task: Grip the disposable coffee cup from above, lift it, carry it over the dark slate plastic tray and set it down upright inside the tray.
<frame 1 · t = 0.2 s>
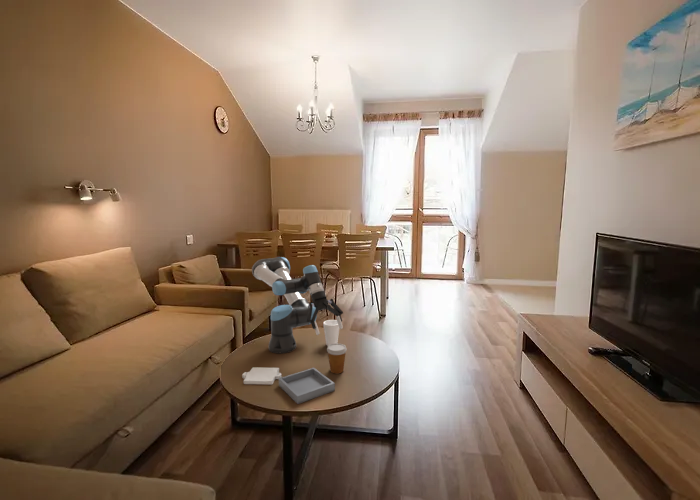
hand: (330, 331, 184), 16 cm above the table, tool tilted 35°, fingers open, 13 cm apart
slate tray: (306, 388, 159), on the table
mounting plate: (262, 378, 169), on the table
foam cup: (331, 344, 207), on the table
disposable coffee cup: (336, 370, 176), on the table
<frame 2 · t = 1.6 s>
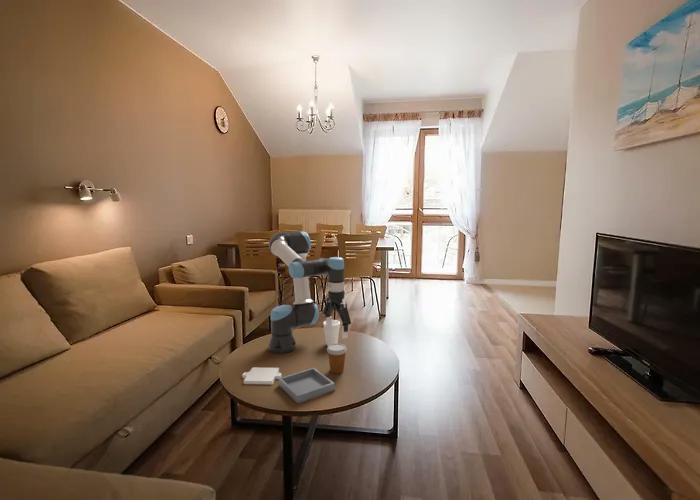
hand: (336, 333, 173), 19 cm above the table, tool pointing down, fingers open, 13 cm apart
nothing on the table moved.
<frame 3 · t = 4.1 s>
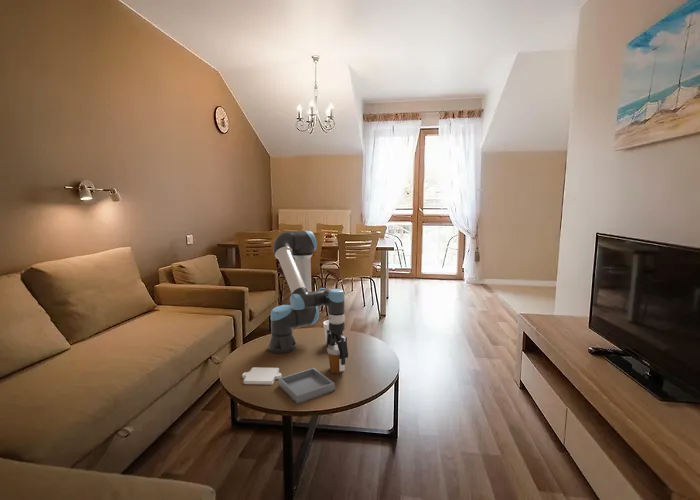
hand: (336, 366, 175), 2 cm above the table, tool pointing down, fingers closed on disposable coffee cup, 8 cm apart
disposable coffee cup: (337, 370, 176), on the table, touching gripper
everything else where it was.
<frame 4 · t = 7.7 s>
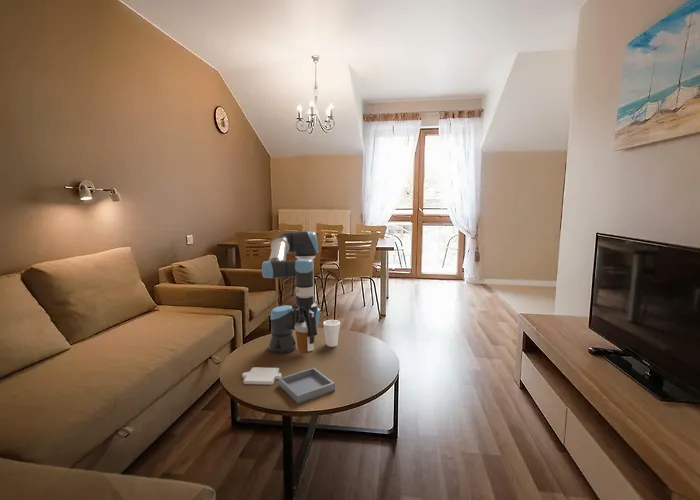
hand: (305, 346, 157), 19 cm above the table, tool pointing down, fingers closed on disposable coffee cup, 8 cm apart
disposable coffee cup: (305, 351, 157), point 17 cm above the table, touching gripper
everything else where it was.
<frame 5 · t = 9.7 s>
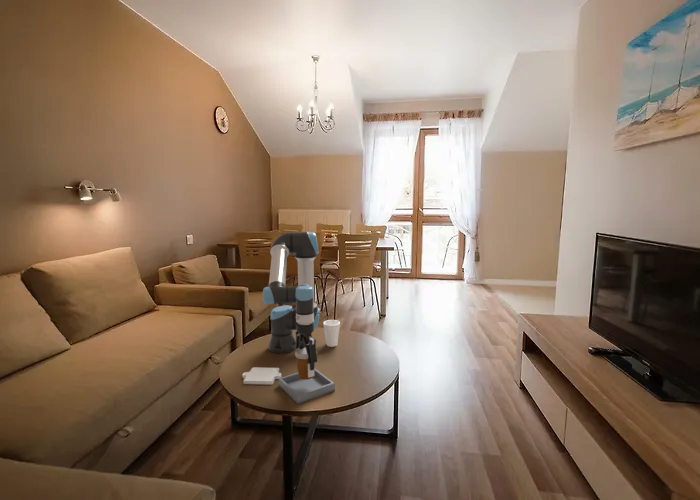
hand: (306, 372, 158), 7 cm above the table, tool pointing down, fingers closed on disposable coffee cup, 8 cm apart
disposable coffee cup: (306, 376, 158), point 5 cm above the table, touching gripper
everything else where it was.
when the fingers open (4 cm above the table, at t = 11.3 s): disposable coffee cup drops 1 cm, resting on slate tray.
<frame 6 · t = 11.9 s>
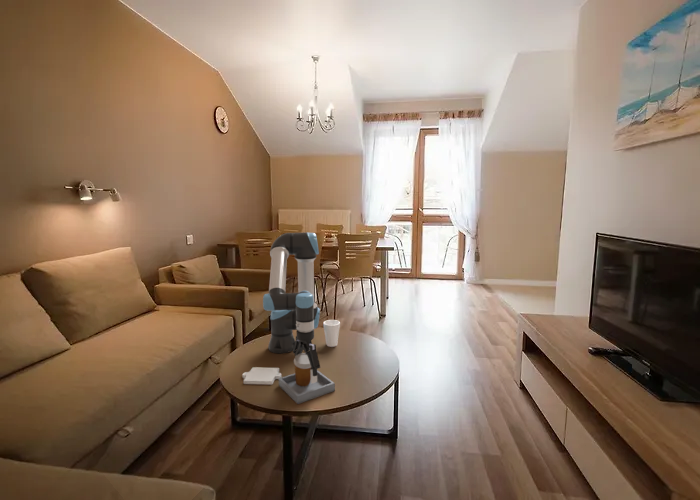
hand: (306, 376, 158), 6 cm above the table, tool pointing down, fingers open, 13 cm apart
disposable coffee cup: (302, 382, 162), point 1 cm above the table, touching gripper, slate tray
everything else where it was.
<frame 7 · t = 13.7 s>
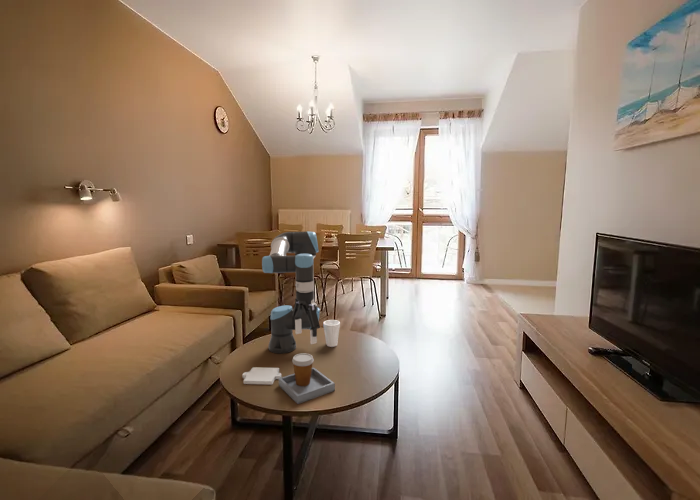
hand: (305, 338, 157), 23 cm above the table, tool pointing down, fingers open, 13 cm apart
disposable coffee cup: (302, 383, 162), point 1 cm above the table, touching slate tray
everything else where it was.
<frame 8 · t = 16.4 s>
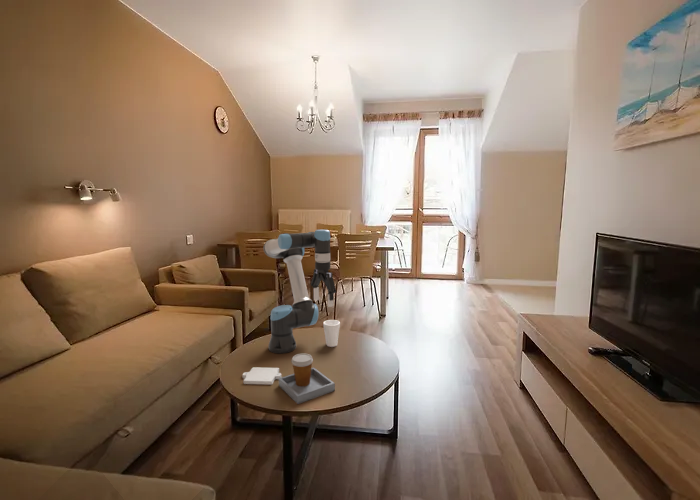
hand: (323, 303, 181), 31 cm above the table, tool pointing down, fingers open, 13 cm apart
nothing on the table moved.
at the end: disposable coffee cup inside the target area on the slate tray (3.6 cm from its centre), point 0.6 cm above the slate tray's base; disposable coffee cup tilted 0°; the gripper is holding nothing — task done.
